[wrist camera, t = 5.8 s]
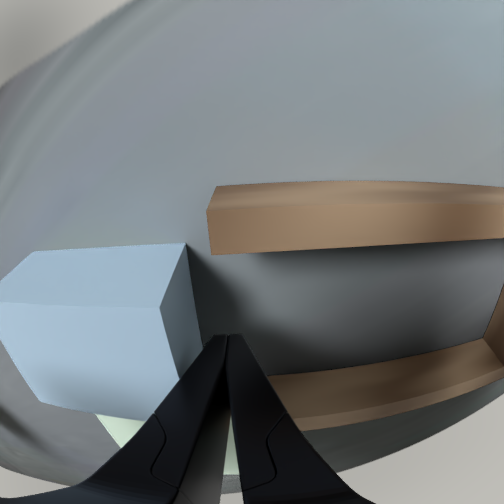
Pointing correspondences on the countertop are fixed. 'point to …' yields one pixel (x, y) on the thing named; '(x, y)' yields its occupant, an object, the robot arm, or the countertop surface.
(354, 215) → the u-shaped frame
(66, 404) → the block
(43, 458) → the countertop surface
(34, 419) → the countertop surface
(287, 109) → the countertop surface
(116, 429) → the mat
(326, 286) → the countertop surface
